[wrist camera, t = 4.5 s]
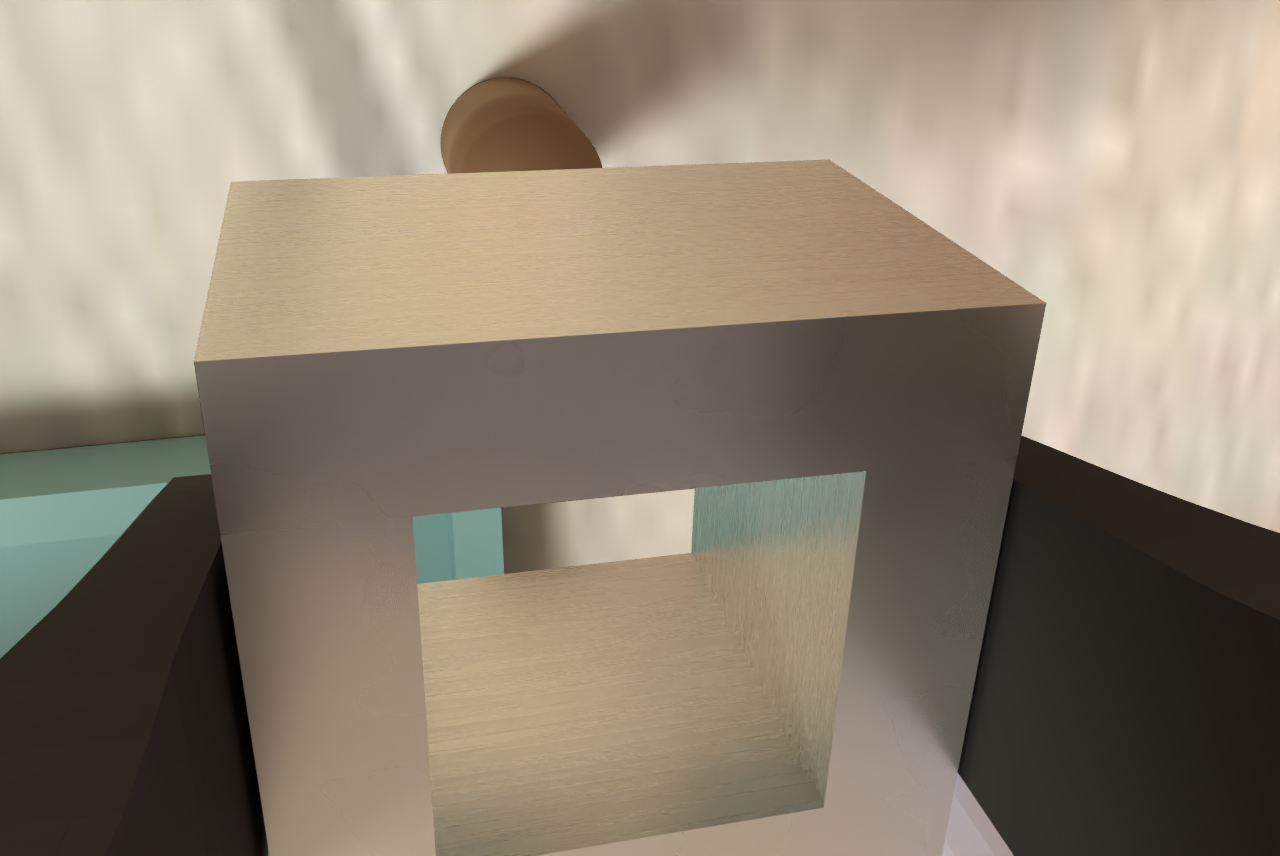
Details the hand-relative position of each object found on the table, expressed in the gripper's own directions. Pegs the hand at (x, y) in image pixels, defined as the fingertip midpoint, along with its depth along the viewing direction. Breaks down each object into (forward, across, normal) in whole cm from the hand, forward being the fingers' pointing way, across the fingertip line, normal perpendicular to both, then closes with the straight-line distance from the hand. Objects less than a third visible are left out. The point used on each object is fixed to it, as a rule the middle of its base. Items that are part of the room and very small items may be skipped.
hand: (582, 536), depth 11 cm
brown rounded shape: (+9, -1, -1) cm, 9 cm away
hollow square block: (+2, 0, 0) cm, 2 cm away
